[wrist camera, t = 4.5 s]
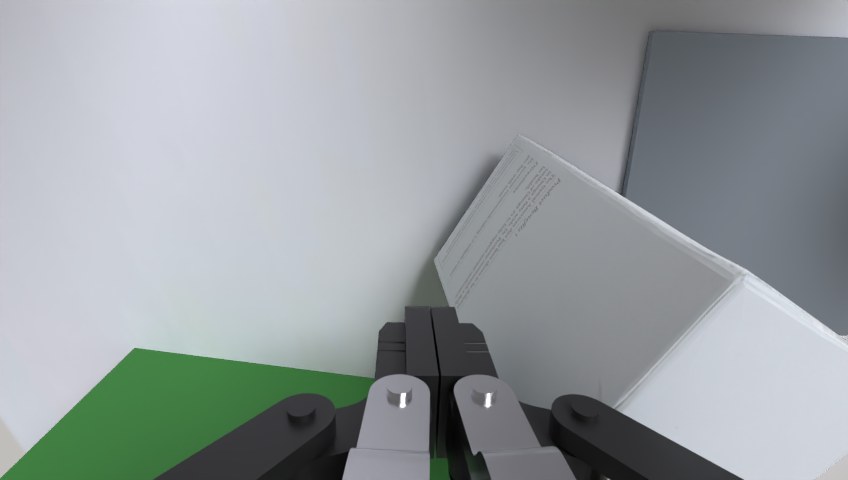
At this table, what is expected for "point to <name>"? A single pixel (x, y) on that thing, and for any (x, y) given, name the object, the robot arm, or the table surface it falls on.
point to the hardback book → (172, 415)
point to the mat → (751, 156)
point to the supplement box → (643, 322)
